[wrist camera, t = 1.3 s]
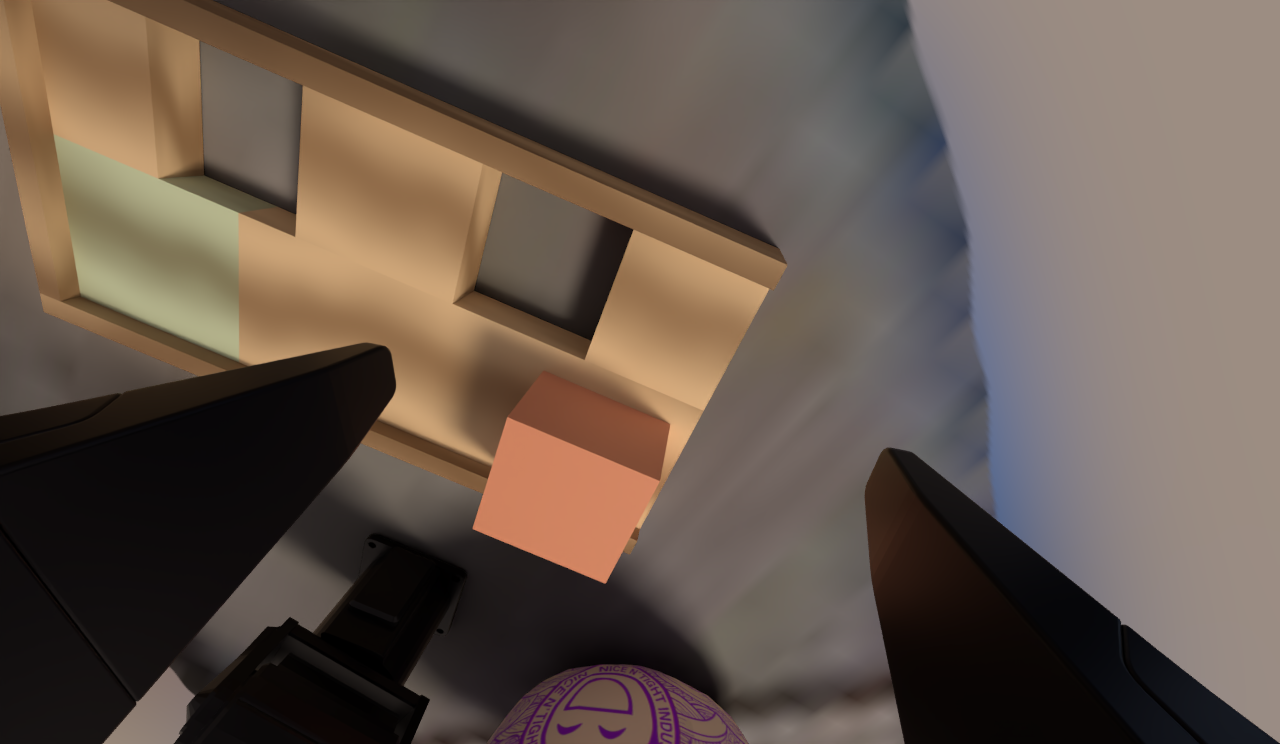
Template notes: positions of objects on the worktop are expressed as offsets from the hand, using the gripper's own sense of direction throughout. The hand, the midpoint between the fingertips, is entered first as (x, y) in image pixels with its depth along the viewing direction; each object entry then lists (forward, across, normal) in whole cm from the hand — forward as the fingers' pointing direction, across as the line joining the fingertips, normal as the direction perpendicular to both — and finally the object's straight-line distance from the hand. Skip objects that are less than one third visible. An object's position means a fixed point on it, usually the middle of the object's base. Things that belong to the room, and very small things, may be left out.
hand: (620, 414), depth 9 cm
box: (+12, +13, +3) cm, 18 cm away
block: (+10, +3, +10) cm, 14 cm away
